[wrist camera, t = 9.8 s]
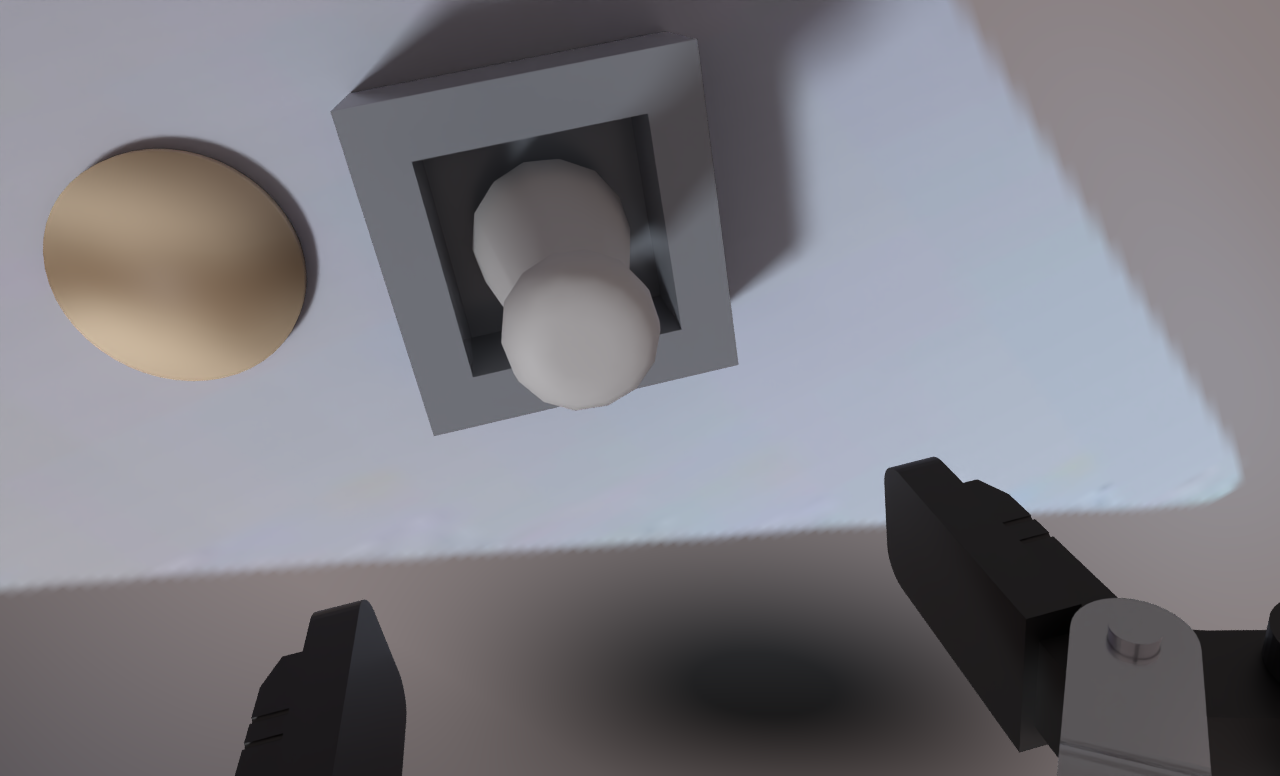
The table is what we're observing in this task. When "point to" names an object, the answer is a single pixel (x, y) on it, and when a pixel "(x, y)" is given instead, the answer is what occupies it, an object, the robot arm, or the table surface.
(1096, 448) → the table surface
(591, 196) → the salt shaker
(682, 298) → the well
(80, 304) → the cork coaster
